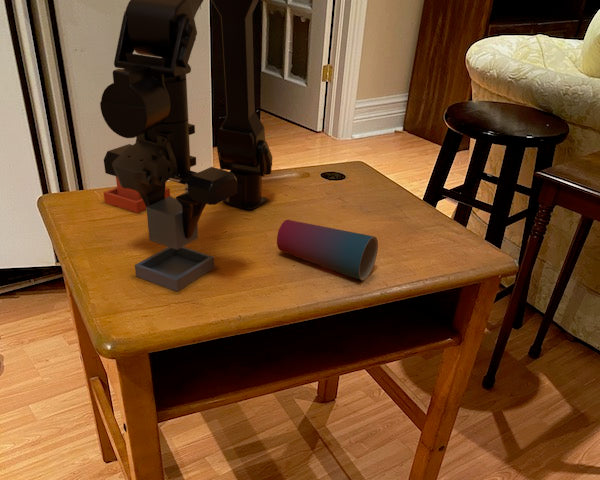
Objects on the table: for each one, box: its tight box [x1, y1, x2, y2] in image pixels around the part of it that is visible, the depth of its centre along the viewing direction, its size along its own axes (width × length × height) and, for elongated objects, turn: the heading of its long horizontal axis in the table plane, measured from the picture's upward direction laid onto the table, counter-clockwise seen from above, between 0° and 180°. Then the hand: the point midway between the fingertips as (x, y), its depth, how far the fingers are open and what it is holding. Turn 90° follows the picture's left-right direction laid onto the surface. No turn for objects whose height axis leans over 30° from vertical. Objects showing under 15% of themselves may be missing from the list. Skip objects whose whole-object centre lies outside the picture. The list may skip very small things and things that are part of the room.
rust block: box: [115, 176, 142, 201], centre depth 107 cm, size 5×5×5 cm
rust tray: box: [103, 186, 171, 214], centre depth 108 cm, size 9×8×2 cm
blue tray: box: [134, 246, 215, 293], centre depth 88 cm, size 9×8×2 cm
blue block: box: [145, 196, 199, 250], centre depth 84 cm, size 5×5×5 cm
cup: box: [276, 219, 379, 282], centre depth 92 cm, size 7×7×15 cm
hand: (173, 232), depth 85 cm, fingers closed on blue block, 5 cm apart
